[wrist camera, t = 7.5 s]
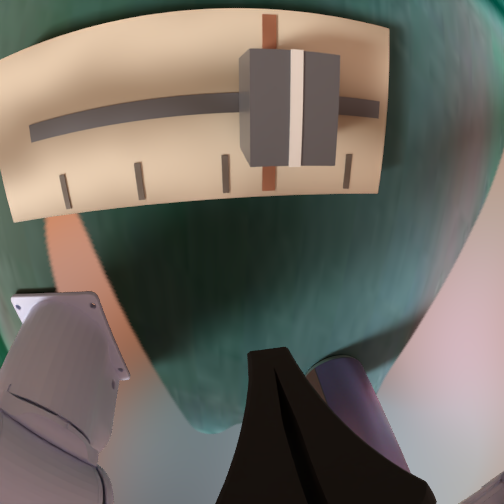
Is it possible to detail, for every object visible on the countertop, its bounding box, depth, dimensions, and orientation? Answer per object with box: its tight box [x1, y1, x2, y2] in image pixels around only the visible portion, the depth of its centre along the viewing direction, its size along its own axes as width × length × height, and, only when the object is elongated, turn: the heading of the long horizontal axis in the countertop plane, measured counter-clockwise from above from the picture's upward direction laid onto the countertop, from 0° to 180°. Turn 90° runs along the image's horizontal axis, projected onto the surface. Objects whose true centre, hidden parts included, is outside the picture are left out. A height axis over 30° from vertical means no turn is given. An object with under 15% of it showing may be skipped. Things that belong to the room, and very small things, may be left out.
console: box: [0, 8, 389, 222], centre depth 13 cm, size 9×20×3 cm, turn 90°
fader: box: [239, 48, 340, 167], centre depth 11 cm, size 4×3×4 cm
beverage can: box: [305, 355, 410, 473], centre depth 21 cm, size 6×6×15 cm
